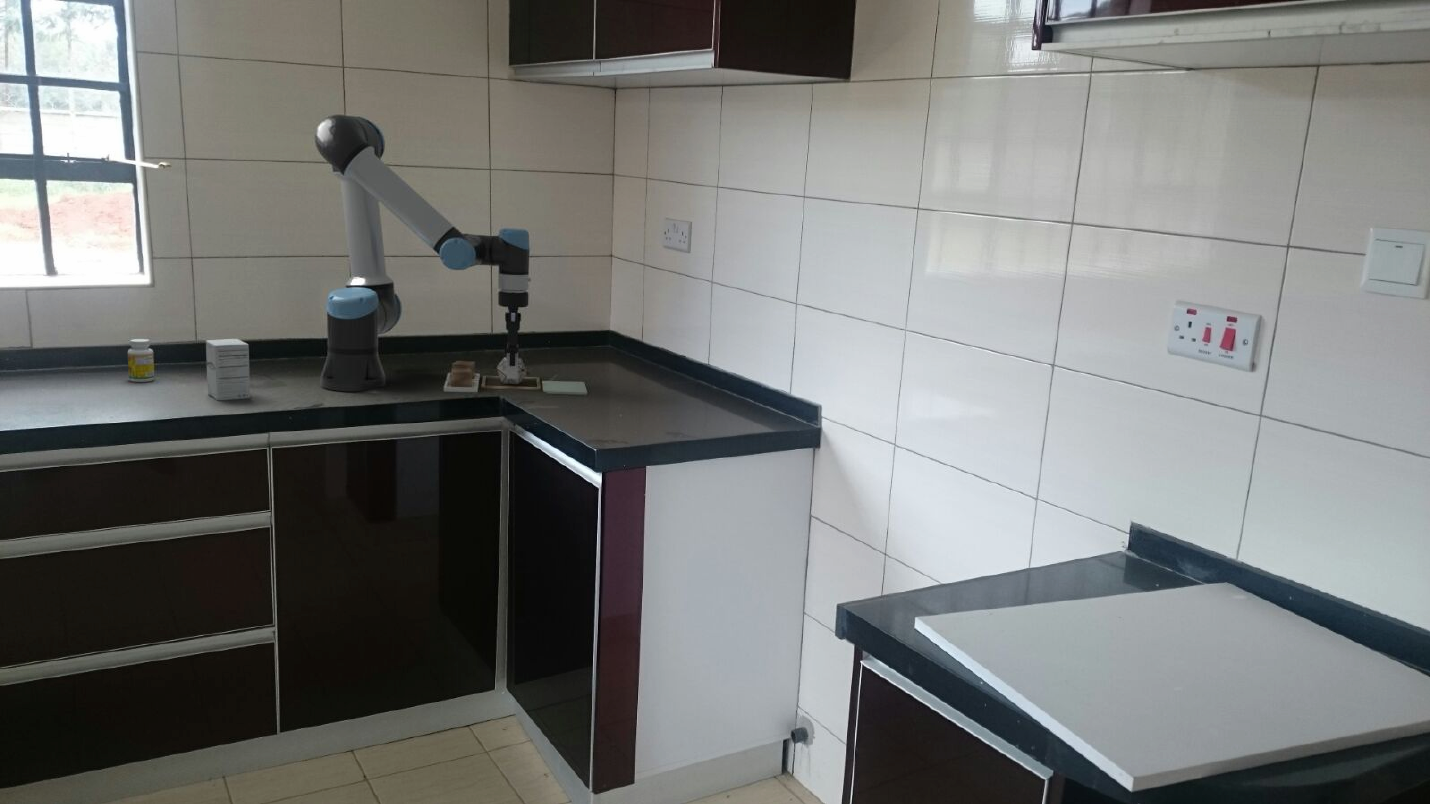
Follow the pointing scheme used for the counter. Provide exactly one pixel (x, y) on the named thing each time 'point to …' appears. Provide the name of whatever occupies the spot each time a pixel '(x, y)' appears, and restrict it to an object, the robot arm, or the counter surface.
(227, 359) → the supplement box
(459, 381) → the block front
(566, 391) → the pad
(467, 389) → the dish front
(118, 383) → the counter surface
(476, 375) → the dish back
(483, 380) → the oak frame
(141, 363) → the supplement bottle
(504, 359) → the game die
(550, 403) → the counter surface
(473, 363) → the block back
